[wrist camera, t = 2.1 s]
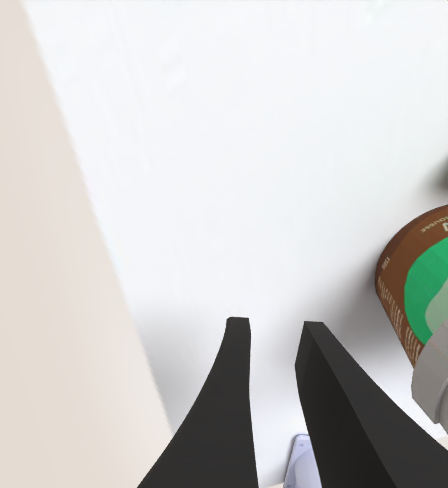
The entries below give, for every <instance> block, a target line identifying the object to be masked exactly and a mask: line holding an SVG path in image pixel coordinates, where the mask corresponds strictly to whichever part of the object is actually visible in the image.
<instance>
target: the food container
mask: <svg viewBox="0 0 448 488" xmlns="http://www.w3.org/2000/svg"><path fill="white" fill-rule="evenodd" d="M375 288H376V293H377V295H378V297H379V299H380V301H381V303H382V305H383V307H384V309H385V311H386V314H387V316H388V318H389V320H390V322H391V324H392V326H393V328H394V330H395V332H396V334H397V336H398V338H399V340H400V342H401V344H402V346H403V348H404V350H405V352H406V354H407V356H408V358H409V360H410V362H411V364H412V366H413V368H414V371H413V377H412V384H411V390H412V398H413V399H414V401H415V402H416V403H417V404H418V405H419V406H420V408H421V409H422V410H423V411H424V412H425V413H426V415H427V416H428V417H429V418H430V419H431V421H432V422H433V423H434V424H437V423H440V424H441V425H442V427H443V428H444V430H445V431H446V433H447V434H448V205H445V206H441V207H438V208H435V209H433V210H430V211H428V212H426V213H424V214H422V215H420V216H419V217H417V218H415V219H414V220H412V221H411V222H410V223H408V224H407V225H405V226H404V227H403V228H402V229H401V230H400V231H399V232H398V233H397V234H396V235H395V236H394V237H393V238H392V239H391V241H390V242H389V243H388V244H387V246H386V248H385V249H384V251H383V253H382V254H381V257H380V259H379V262H378V264H377V268H376V272H375Z"/></svg>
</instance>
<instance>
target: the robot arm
mask: <svg viewBox="0 0 448 488" xmlns="http://www.w3.org/2000/svg"><path fill="white" fill-rule="evenodd" d="M250 348H251V330H250V323H249V318H242V317H229V318H228V319H227V322H226V329H225V333H224V337H223V340H222V343H221V346H220V349H219V352H218V354H217V357H216V359H215V362H214V364H213V366H212V369H211V371H210V373H209V375H208V377H207V379H206V381H205V383H204V385H203V387H202V389H201V391H200V393H199V395H198V397H197V399H196V401H195V402H194V404H193V406H192V408H191V409H190V411H189V413H188V414H187V416H186V418H185V419H184V421H183V423H182V424H181V426H180V427H179V429H178V430H177V432H176V434H175V435H174V437H173V438H172V440H171V441H170V443H169V444H168V446H167V447H166V449H165V450H164V452H163V453H162V454H161V456H160V457H159V459H158V460H157V462H156V463H155V464H154V465H153V467H152V468H151V469H150V471H149V472H148V473H147V475H146V476H145V477H144V479H143V480H142V481H141V483H140V484H139V486H138V487H137V488H259V487H258V478H257V470H256V461H255V452H254V442H253V433H252V422H251V411H250V400H249V376H250ZM295 371H296V379H297V386H298V393H299V398H300V402H301V406H302V410H303V414H304V418H305V422H306V426H307V430H308V433H309V436H307V435H299V436H297V437H296V438H295V442H294V446H293V450H292V454H291V458H290V462H289V466H288V469H287V473H286V477H285V481H284V485H283V488H448V450H447V449H445V448H444V447H443V446H442V445H441V444H439V443H438V442H437V441H436V440H435V439H434V438H432V437H431V436H430V435H429V434H428V433H427V432H426V431H425V430H423V429H422V428H421V427H420V426H419V425H418V424H417V423H416V422H415V421H413V420H412V419H411V418H410V417H409V416H408V415H407V414H406V413H405V412H404V411H403V410H402V409H401V408H400V407H398V406H397V405H396V404H395V403H394V402H393V401H392V400H391V399H390V398H389V397H388V395H387V394H386V393H385V392H384V391H383V390H382V389H381V388H380V387H379V386H378V385H377V384H376V383H375V382H374V381H373V380H372V379H371V378H370V377H369V376H368V374H367V373H366V372H365V371H364V370H363V369H362V368H361V367H360V366H359V364H358V363H357V362H356V361H355V360H354V359H353V358H352V356H351V355H350V354H349V353H348V352H347V351H346V349H345V348H344V347H343V346H342V345H341V343H340V342H339V341H338V340H337V339H336V337H335V336H334V335H333V334H332V333H331V331H330V330H329V329H328V328H327V327H326V325H325V324H324V323H323V322H311V321H304V325H303V330H302V335H301V339H300V344H299V348H298V353H297V357H296V362H295Z"/></svg>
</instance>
